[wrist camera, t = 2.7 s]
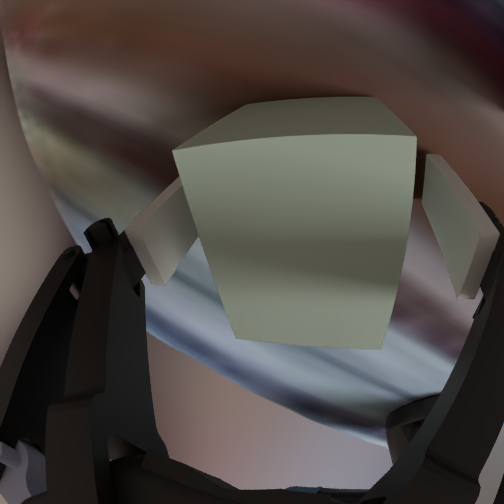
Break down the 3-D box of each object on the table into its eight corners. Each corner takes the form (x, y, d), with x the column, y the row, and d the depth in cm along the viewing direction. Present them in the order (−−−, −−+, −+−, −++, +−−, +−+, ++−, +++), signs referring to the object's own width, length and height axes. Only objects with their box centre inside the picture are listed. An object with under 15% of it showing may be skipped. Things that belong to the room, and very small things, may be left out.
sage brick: (373, 242, 15) (381, 349, 10) (271, 240, 17) (235, 338, 12) (375, 96, 10) (416, 136, 5) (246, 104, 12) (171, 150, 7)
